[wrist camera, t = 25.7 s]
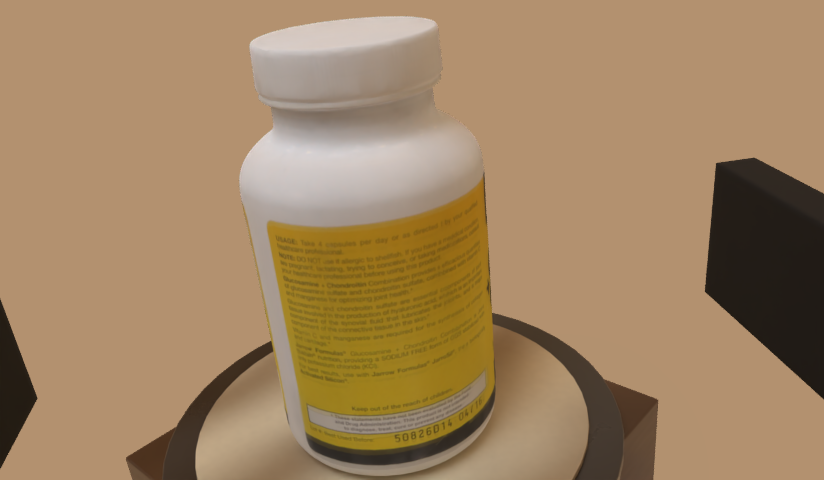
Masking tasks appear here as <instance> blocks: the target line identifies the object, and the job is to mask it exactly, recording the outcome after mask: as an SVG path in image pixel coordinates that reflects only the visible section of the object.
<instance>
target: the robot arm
mask: <svg viewBox="0 0 824 480" xmlns="http://www.w3.org/2000/svg"><path fill="white" fill-rule="evenodd" d="M705 292H706V293H707V294H708V295H709V296H710V297H712V298H713V299H714V300H715V301H716V302H717V303H718V304H719V305H720V306H721V307H722V308H724V309H725V310H726V311H727V312H728V313H729V314H730V315H731V316H732V317H734V318H735V319H736V320H737V321H738V322H739V323H740V324H741V325H743V327H745V328H746V329H747V330H748V331H749V332H750V333H751V334H752V335H754V337H756V338H757V339H758V340H759V341H760V342H761V343H762V344H763V345H764V346H766V347H767V348H768V349H769V350H770V351H771V352H772V353H773V354H774V355H775V356H777V357H778V358H779V359H780V360H781V361H782V362H783V363H784V364H785V365H786V366H788V367H789V368H790V369H791V370H792V371H793V372H794V373H795V374H797V375H798V376H799V377H800V378H801V379H802V380H803V381H804V382H805V383H806V384H807V385H809V386H810V387H811V388H812V389H813V390H814V391H815V392H816V393H818V394H819V395H820V396H821V397H822V398H823V399H824V194H823V193H821V192H819V191H818V190H816V189H813V188H812V187H810V186H808V185H806V184H804V183H802V182H800V181H798V180H796V179H794V178H793V177H790V176H789V175H787V174H785V173H783V172H781V171H779V170H777V169H775V168H773V167H771V166H769V165H767V164H766V163H764V162H762V161H760V160H758V159H756V158H749V159H742V160H735V161H728V162H721V163H716V171H715V182H714V194H713V205H712V218H711V228H710V240H709V251H708V263H707V273H706V285H705ZM36 400H37V396H36V393H35V390H34V388H33V385H32V383H31V380H30V377H29V374H28V372H27V369H26V367H25V364H24V361H23V358H22V356H21V353H20V351H19V348H18V345H17V342H16V340H15V337H14V334H13V332H12V329H11V326H10V324H9V321H8V318H7V316H6V313H5V310H4V308H3V305H2V302H1V300H0V468H1V466H2V464H3V463H4V461H5V459H6V457H7V455H8V453H9V451H10V449H11V447H12V445H13V444H14V442H15V440H16V438H17V436H18V434H19V432H20V430H21V429H22V427H23V425H24V423H25V421H26V419H27V417H28V415H29V413H30V412H31V410H32V408H33V406H34V404H35V402H36Z"/></svg>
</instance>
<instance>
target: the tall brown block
mask: <svg viewBox="0 0 824 480" xmlns="http://www.w3.org/2000/svg"><path fill="white" fill-rule="evenodd" d="M492 323H493V344H494V358H495V374H496V392H495V403H494V409H493V412H492V415H491V418H490V420H489V421H488V423H487V425H486V427H485V428H484V430H483V431H482V432H481V434H480V435H479V436H478V437H477V438H476V440H474V441H473V442H472V443H471V444H470V445H469V446H468V447H467V448H465V449H464V450H463V451H461V452H460V453H458V454H457V455H455V456H453V457H452V458H450V459H448V460H446V461H444V462H442V463H440V464H437V465H435V466H432V467H430V468H427V469H423V470H420V471H416V472H412V473H407V474H400V475H390V476H370V475H360V474H353V473H349V472H345V471H341V470H338V469H335V468H332V467H330V466H328V465H326V464H324V463H322V462H320V461H318V460H317V459H315V458H314V457H312V456H311V455H310V454H309V453H307V452H306V451H305V450H304V449H303V448H302V447H301V446H300V444H299V443H298V442H297V440H296V439H295V437H294V435H293V433H292V431H291V429H290V426H289V424H288V420H287V415H286V411H285V407H284V401H283V396H282V391H281V386H280V381H279V376H278V371H277V366H276V361H275V356H274V351H273V346H272V341H270V342H268V343H266V344H264V345H262V346H260V347H258V348H257V349H255V350H253V351H252V352H250V353H249V354H247V355H246V356H244V357H242V358H241V359H239V360H238V361H236V362H235V363H234V364H232V365H231V366H230V367H228V368H227V369H226V370H224V371H223V372H222V373H221V374H219V375H218V376H217V377H216V378H215V379H214V380H213V381H212V382H211V383H210V384H209V385H208V386H207V387H206V388H204V390H203V391H202V392H201V393H200V394H199V395H198V397H197V398H196V399H195V400H194V401H193V402H192V404H191V405H190V406H189V408H188V409H187V411H186V412H185V414H184V415H183V417H182V418H181V420H180V421H179V423H178V425H177V427H175V428H174V429H172V430H170V431H169V432H167V433H166V434H164V435H162V436H161V437H159V438H157V439H155V440H154V441H152V442H151V443H149V444H147V445H146V446H144V447H143V448H141V449H139V450H137V451H136V452H134V453H133V454H131V455H129V456H128V457H127V458H126V461H127V464H128V467H129V470H130V473H131V476H132V479H133V480H653V475H654V459H655V443H656V427H657V411H658V400H657V399H655V398H653V397H650V396H647V395H645V394H642V393H639V392H637V391H634V390H631V389H628V388H626V387H623V386H621V385H618V384H615V383H613V382H610V381H607V380H604V379H603V378H602V376H601V375H600V374H599V373H598V372H597V371H596V369H595V368H594V367H593V366H592V365H591V364H590V363H589V362H588V361H587V360H586V359H585V358H584V357H583V356H581V355H580V354H579V353H578V352H577V351H576V350H574V349H573V348H571V347H570V346H569V345H567V344H565V343H564V342H563V341H561V340H560V339H558V338H556V337H555V336H553V335H550V334H549V333H547V332H545V331H543V330H541V329H539V328H536V327H534V326H531V325H529V324H527V323H524V322H521V321H519V320H516V319H512V318H509V317H506V316H502V315H499V314H495V313H492Z"/></svg>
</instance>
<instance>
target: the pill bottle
mask: <svg viewBox="0 0 824 480" xmlns="http://www.w3.org/2000/svg"><path fill="white" fill-rule="evenodd" d="M250 55H251V61H252V68H253V76H254V85H255V90H256V91H257V92H258V93H259V95H258V98H259V100H260V101H261V102H262V103H264V104H265V105H268V106H270V107H271V110H272V117H273V129H272V130H271V131H269V132H268V133H267V134H266V135H265V136H264V137H263V138H262V139H261V140H259V141H258V142H257V144H255V146H254V147H253V148H252V149H251V151H250V152H249V153H248V155H247V156H246V158H245V160H244V162H243V165H242V167H241V171H240V178H239V179H240V180H239V186H240V194H241V199H242V205H243V210H244V215H245V220H246V225H247V229H248V234H249V238H250V243H251V248H252V252H253V257H254V262H255V266H256V271H257V275H258V280H259V284H260V289H261V294H262V298H263V303H264V308H265V312H266V317H267V322H268V327H269V331H270V336H271V341H272V346H273V351H274V356H275V361H276V366H277V371H278V376H279V381H280V386H281V391H282V396H283V401H284V407H285V411H286V415H287V420H288V424H289V426H290V429H291V431H292V433H293V435H294V437H295V439H296V440H297V442H298V443H299V444H300V446H301V447H302V448H303V449H304V450H305V451H306V452H307V453H309V454H310V455H311V456H312V457H314V458H315V459H317V460H318V461H320V462H322V463H324V464H326V465H328V466H330V467H332V468H335V469H338V470H341V471H345V472H349V473H353V474H360V475H370V476H390V475H400V474H407V473H412V472H416V471H420V470H423V469H427V468H430V467H432V466H435V465H437V464H440V463H442V462H444V461H446V460H448V459H450V458H452V457H453V456H455V455H457V454H458V453H460V452H461V451H463V450H464V449H465V448H467V447H468V446H469V445H470V444H471V443H472V442H473V441H474V440H476V438H477V437H478V436H479V435H480V434H481V432H482V431H483V430H484V428H485V427H486V425H487V423H488V421H489V420H490V418H491V415H492V412H493V409H494V403H495V392H496V374H495V358H494V344H493V323H492V307H491V306H492V305H491V286H490V267H489V248H488V230H487V216H486V202H485V178H484V166H483V159H482V152H481V149H480V146H479V144H478V142H477V140H476V138H475V137H474V135H473V134H472V133H471V131H469V129H468V128H467V127H466V126H465V125H463V124H462V123H461V122H460V121H458V120H457V119H456V118H454V117H453V116H451V115H450V114H448V113H446V112H444V111H442V110H439V109H436V107H435V103H434V95H433V88H432V87H433V86H435V85H436V84H437V83H438V82H439V80H440V79H441V74H440V72H441V71H442V58H441V49H440V40H439V29H438V26H437V24H436V22H434V21H433V20H429V19H425V18H419V17H407V16H403V17H400V16H399V17H369V18H354V19H344V20H334V21H326V22H319V23H313V24H307V25H301V26H296V27H290V28H286V29H282V30H278V31H274V32H271V33H268V34H265V35H262V36H259V37H257V38H255V39H254V40H252V41H251V43H250Z"/></svg>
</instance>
